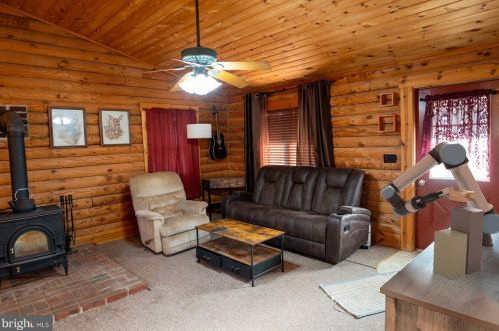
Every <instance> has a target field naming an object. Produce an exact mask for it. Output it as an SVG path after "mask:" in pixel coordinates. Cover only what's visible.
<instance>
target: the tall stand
mask: <svg viewBox="0 0 499 331" xmlns="http://www.w3.org/2000/svg"><path fill="white" fill-rule="evenodd" d="M483 221H484V210H480V209H475V208H471V207H467V205H462V206H457V207H456V206H455V207H451V209H450V226H449V229H451V230H454V231H458V232H461V233H464V234H467V251H466V270H465V276H469V275H472V274H476V273H479V272H481V271H482V270H481V268H482V252H483V246H482V238H483Z"/></svg>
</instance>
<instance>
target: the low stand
mask: <svg viewBox="0 0 499 331" xmlns="http://www.w3.org/2000/svg"><path fill="white" fill-rule="evenodd" d="M433 234H434V238H433V240H434V241H433V263H432V265H433V266H432V268H433V269H432V272H434V273H437V274H439V275H441V276H442V277H445V278H447V279H449V280H455V279H458V278H461V277H466V274H465V270H466V251H467V234H464V233H461V232H458V231H454V230H451V229H450V228H445V229H440V230H434V233H433Z"/></svg>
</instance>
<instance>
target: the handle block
mask: <svg viewBox="0 0 499 331" xmlns="http://www.w3.org/2000/svg"><path fill="white" fill-rule="evenodd" d="M440 190H441V189H439V190H438V189H437V190H436V192H437V191H440ZM443 196H444V197H443V198H448V200H450V201H456V202H460V203H461V202H462V203H465V202H466V203H467V201H473V200H475V192H473V191H467V190H461V189H460V188H459V189H454V191H449V193H448V194H445V195H443Z"/></svg>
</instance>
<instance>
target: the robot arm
mask: <svg viewBox="0 0 499 331" xmlns="http://www.w3.org/2000/svg"><path fill="white" fill-rule="evenodd" d="M469 161H470V160H469V159H468V156H467V150H466V148H465V147H464V146H463V145H462V143H461V144H460V143H459V142H456V141H450V140H444V141H442V142H439V143H437V144H436V145H435V146H434V147H433V148H431V149H430V150H429V151H428V152H426V155H425V156H424V157H423V158H422V159H420V160H419V161H418V162H416V163H415V164H414V165H412V166H411V167H410V168H408V169H407V170H406V171H404V172H403V173H402V174H401V175H399V176H398V177H396V178H395V179H394V180H393V181H391V182H390V183H389V184H386V185H384V186H383V188H382V190H381V191H380V195H381V197H382V198H383V199H385V200H386V201H387V203H388V204H389V205H390V206H392V212H393V214H394V216H396V217H399V218H401V217H404V216H405V217H406V216H408V215H411V214H412V213H416V212H417V211H421V210H423V209H425V208H426V207H427V204H430V203H432V202H436V201H437V200H440V199H442V198H445V197H444V196H443V195H445V194H448V193H449V191H454V190H455V189H454V186H450V187H448V186H447V187H445V188H442V189H439V190H440V191H437V190H436V191H434V192H431V193H429V194H425V195H423V196H422V195H416V196H413V197H411V198H408V199H406V200H405V199H404V198H403V197H402V196H401V195H400V193H401V192H402V191H403V190H404V189H406V188H407V187H408V186H410V185H411V184H412V183H414V182H415V181H416V180H418V179H419V178H421V177H423V175H425V174H426V173H427V172H428V171H430V170H431V169H432V168H434V167H436V166H440V165H441V164H443V166H444V168H445V170H447V171H449V172H451V173H450V174H451V175H452V177H453V179H454V180H455V182H456V184H457V186H458V188H459V190H460V189H461V190H467V191H473V192H475V200H473V201H467V202H466V206H467V207H471V208H475V209H480V210H484V221H483V238H482V247H486V246H491V245H493V243H494V242H493V238H492V235H494V234H497V233H499V214H498V213H497V211H496V209H495V208H494V205H493V204H491V203H488V202H487V199H486V197H485V196H484V194H483V192H482V190H481V188H480V186H479V184H478V182H477V181H476V178H475V176H474V174H473V173H472V171H471V169H470V167H469V165H468V164H469Z"/></svg>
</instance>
